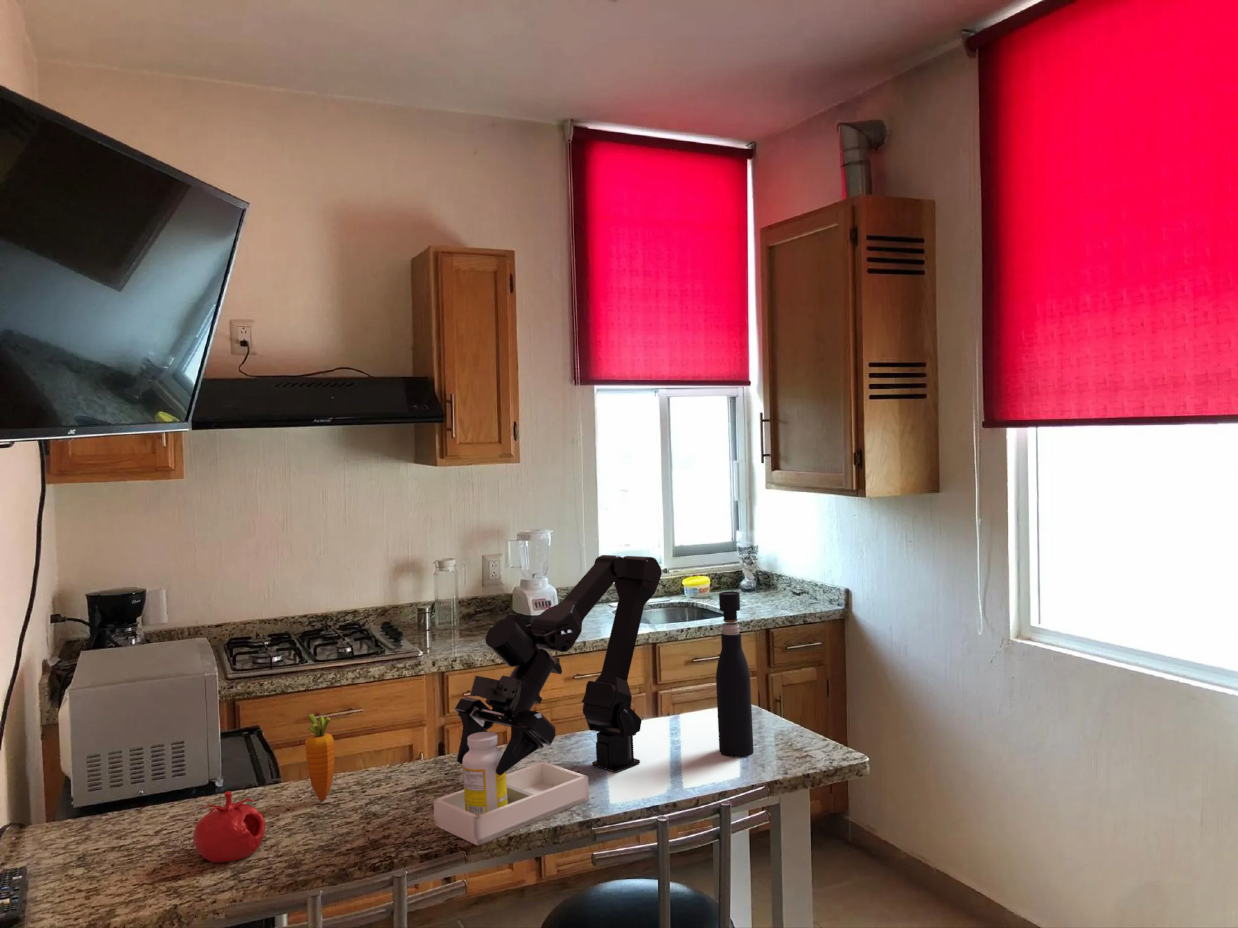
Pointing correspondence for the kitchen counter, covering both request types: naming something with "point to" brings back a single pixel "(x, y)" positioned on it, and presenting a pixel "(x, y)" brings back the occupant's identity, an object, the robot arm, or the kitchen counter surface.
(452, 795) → the slot organizer
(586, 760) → the kitchen counter surface
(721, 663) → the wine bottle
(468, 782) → the supplement bottle
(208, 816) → the red tomato
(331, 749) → the carrot
